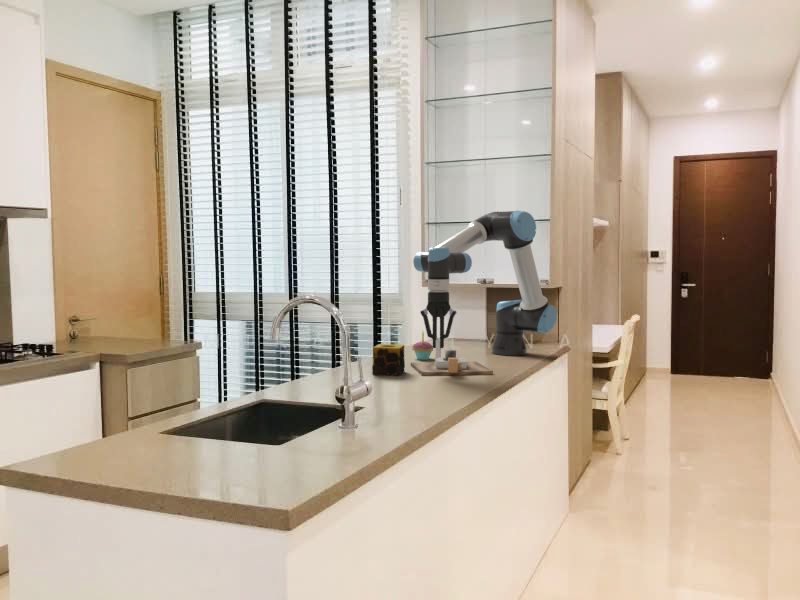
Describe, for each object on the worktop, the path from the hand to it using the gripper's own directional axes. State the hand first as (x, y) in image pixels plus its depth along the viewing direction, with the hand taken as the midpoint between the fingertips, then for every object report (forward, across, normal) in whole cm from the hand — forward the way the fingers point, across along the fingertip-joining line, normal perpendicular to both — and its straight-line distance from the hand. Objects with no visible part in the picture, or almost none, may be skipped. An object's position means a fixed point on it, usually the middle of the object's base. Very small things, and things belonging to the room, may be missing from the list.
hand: (438, 357), depth 258 cm
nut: (+5, +4, +8) cm, 10 cm away
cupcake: (+7, -11, +36) cm, 38 cm away
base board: (+7, +3, +12) cm, 14 cm away
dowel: (+5, +7, +4) cm, 10 cm away
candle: (+7, -18, -1) cm, 19 cm away
